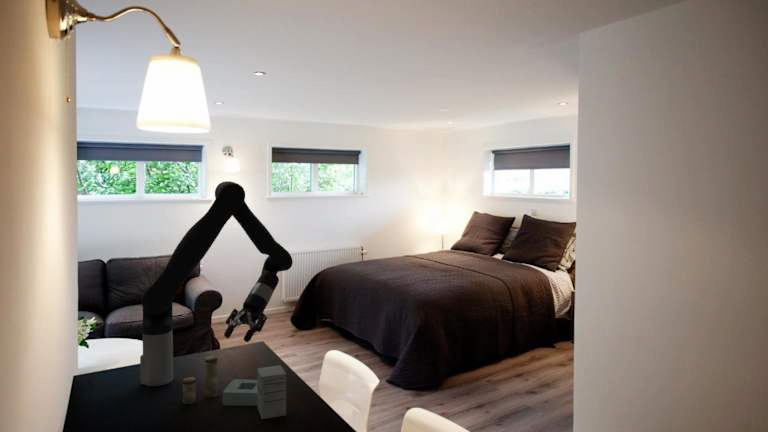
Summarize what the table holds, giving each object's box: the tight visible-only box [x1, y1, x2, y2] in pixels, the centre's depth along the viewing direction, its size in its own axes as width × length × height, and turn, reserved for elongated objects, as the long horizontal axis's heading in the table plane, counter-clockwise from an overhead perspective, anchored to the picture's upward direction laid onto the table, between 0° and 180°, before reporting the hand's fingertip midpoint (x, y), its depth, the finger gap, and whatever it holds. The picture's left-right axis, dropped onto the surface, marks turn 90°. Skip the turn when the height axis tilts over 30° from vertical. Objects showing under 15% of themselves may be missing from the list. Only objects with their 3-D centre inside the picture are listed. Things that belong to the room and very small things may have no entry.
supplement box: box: [256, 364, 287, 420], centre depth 142 cm, size 7×7×13 cm
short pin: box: [182, 376, 197, 405], centre depth 149 cm, size 4×4×7 cm
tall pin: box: [204, 355, 219, 399], centre depth 153 cm, size 4×4×12 cm
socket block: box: [222, 378, 257, 407], centre depth 151 cm, size 12×10×4 cm
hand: (235, 339), depth 163 cm, fingers open, 8 cm apart
